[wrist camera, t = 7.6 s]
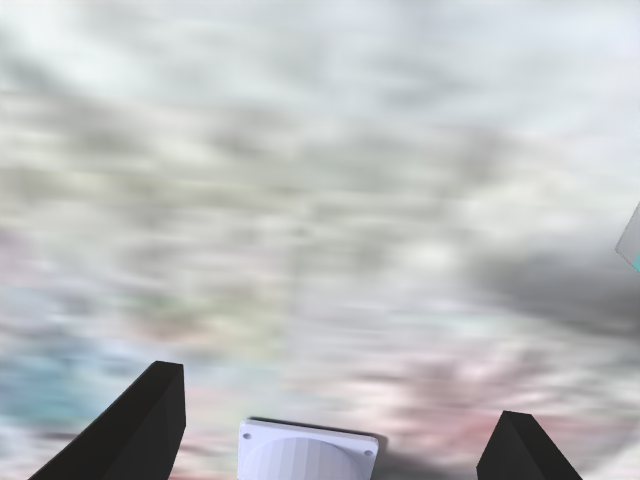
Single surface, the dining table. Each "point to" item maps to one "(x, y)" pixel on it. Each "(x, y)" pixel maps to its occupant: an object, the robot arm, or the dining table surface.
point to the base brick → (631, 242)
